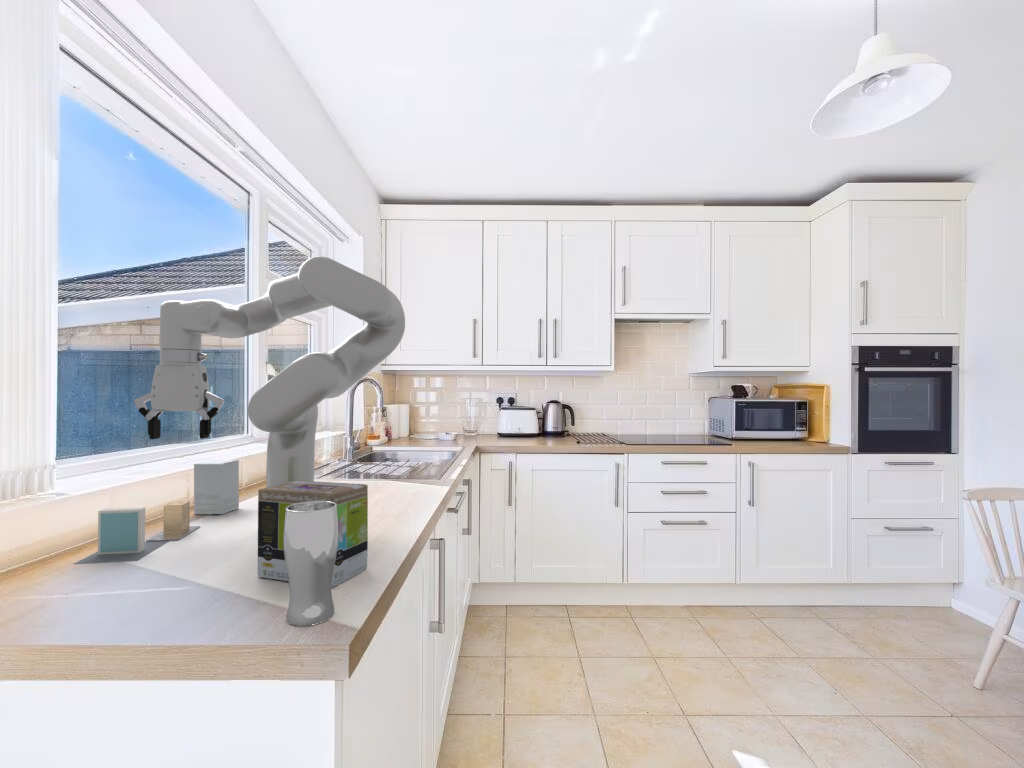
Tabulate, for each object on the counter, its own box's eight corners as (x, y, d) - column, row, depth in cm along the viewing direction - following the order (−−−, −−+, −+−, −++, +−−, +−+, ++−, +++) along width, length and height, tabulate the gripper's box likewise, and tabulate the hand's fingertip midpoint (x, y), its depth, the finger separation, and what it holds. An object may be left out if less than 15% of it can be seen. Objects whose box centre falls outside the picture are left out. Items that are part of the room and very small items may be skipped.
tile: (103, 551, 95) (103, 509, 95) (144, 549, 96) (145, 507, 96) (97, 555, 93) (97, 511, 93) (139, 552, 94) (140, 509, 94)
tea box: (369, 569, 87) (370, 483, 88) (330, 590, 78) (331, 494, 78) (299, 559, 92) (299, 477, 92) (254, 578, 83) (255, 487, 83)
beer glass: (284, 632, 64) (285, 514, 64) (281, 611, 70) (282, 503, 71) (341, 621, 67) (342, 508, 68) (333, 601, 74) (334, 498, 74)
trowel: (178, 543, 102) (179, 509, 102) (145, 544, 101) (146, 510, 101) (200, 529, 112) (200, 498, 112) (170, 530, 111) (170, 499, 111)
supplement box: (239, 508, 131) (240, 459, 131) (220, 515, 124) (221, 463, 124) (213, 507, 132) (213, 459, 132) (192, 514, 124) (193, 463, 125)
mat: (169, 542, 102) (169, 540, 102) (137, 562, 90) (137, 560, 90) (113, 544, 100) (113, 543, 100) (73, 565, 88) (73, 563, 88)
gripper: (230, 360, 115) (229, 436, 114) (145, 359, 112) (144, 437, 111) (217, 358, 107) (216, 439, 107) (126, 357, 104) (125, 440, 104)
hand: (179, 438), depth 109 cm, fingers open, 9 cm apart
